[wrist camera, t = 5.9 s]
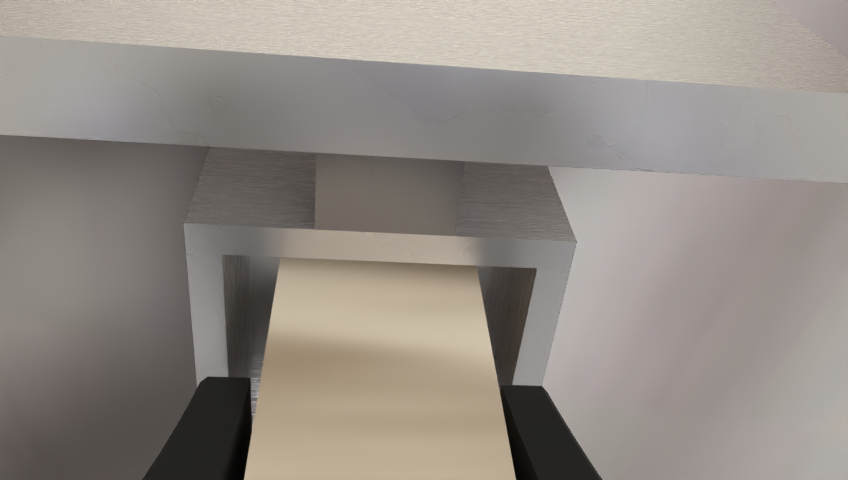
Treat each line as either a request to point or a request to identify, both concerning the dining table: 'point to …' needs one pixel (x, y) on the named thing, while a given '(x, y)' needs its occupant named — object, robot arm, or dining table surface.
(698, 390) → the dining table surface
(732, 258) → the dining table surface
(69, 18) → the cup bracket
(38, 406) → the dining table surface
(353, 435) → the rail end
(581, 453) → the robot arm
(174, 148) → the dining table surface
